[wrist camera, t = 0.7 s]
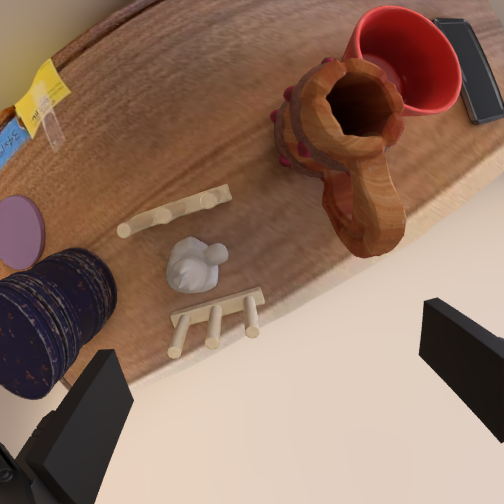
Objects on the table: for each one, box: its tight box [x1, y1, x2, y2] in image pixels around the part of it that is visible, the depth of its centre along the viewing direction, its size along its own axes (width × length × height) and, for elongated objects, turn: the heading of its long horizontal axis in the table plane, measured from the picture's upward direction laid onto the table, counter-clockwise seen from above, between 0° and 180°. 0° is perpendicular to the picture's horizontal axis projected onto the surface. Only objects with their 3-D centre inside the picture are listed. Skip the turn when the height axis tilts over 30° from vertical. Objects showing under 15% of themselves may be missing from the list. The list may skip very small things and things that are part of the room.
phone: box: [432, 18, 504, 124], centre depth 27 cm, size 8×1×15 cm
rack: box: [117, 184, 265, 359], centre depth 28 cm, size 13×10×8 cm
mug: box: [270, 58, 406, 259], centre depth 23 cm, size 15×8×15 cm, turn 12°
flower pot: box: [342, 6, 462, 116], centre depth 24 cm, size 11×11×10 cm
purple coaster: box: [0, 195, 45, 270], centre depth 29 cm, size 9×9×1 cm
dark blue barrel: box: [0, 248, 117, 400], centre depth 23 cm, size 10×10×18 cm
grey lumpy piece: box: [166, 237, 228, 294], centre depth 28 cm, size 5×7×8 cm
